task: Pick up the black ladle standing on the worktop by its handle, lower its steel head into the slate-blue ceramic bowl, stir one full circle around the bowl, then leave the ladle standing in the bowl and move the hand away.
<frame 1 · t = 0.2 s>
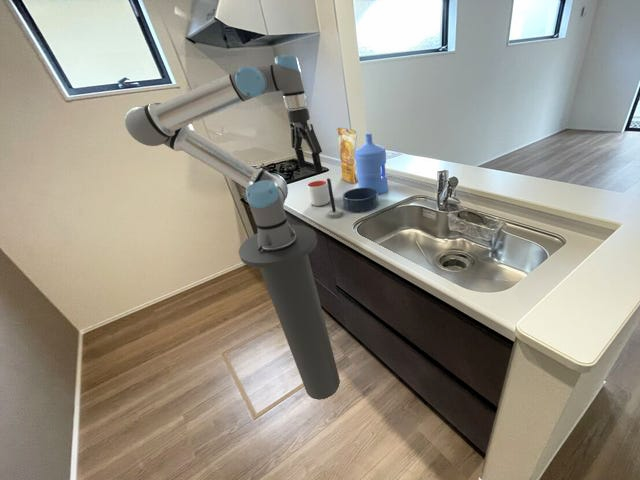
hand: (310, 169, 118), 24 cm above the countertop, tool pointing down, fingers open, 13 cm apart
cup: (321, 203, 153), on the countertop
ladle: (334, 215, 139), on the countertop
water jug: (373, 191, 160), on the countertop
bowl: (361, 205, 145), on the countertop
pancake mix bag: (350, 180, 180), on the countertop
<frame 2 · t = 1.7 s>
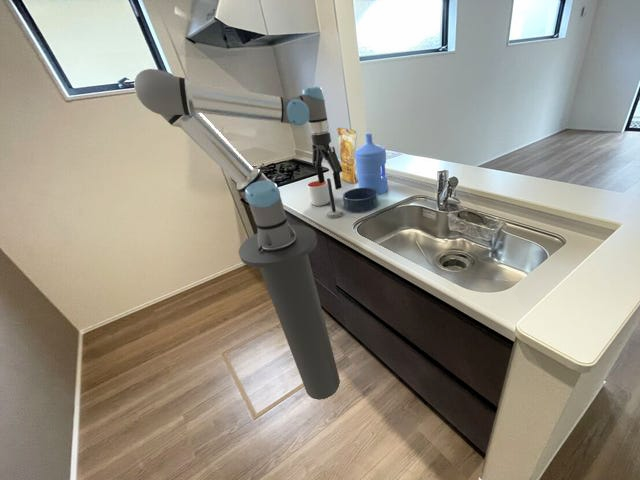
hand: (330, 185, 131), 14 cm above the countertop, tool pointing down, fingers open, 13 cm apart
nothing on the countertop moved.
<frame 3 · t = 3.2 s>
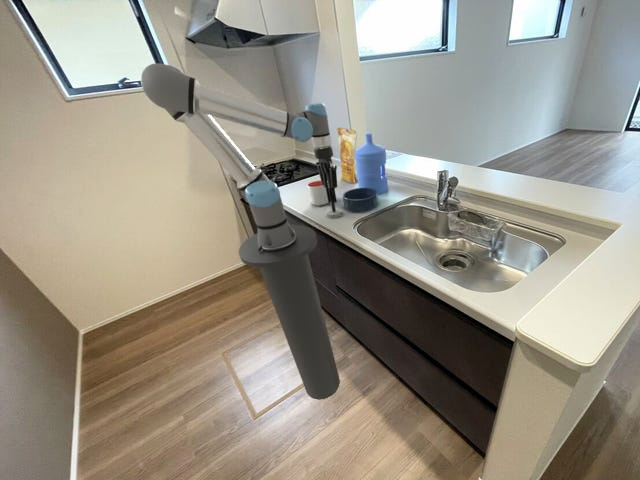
hand: (332, 201, 135), 6 cm above the countertop, tool pointing down, fingers closed on ladle, 2 cm apart
ladle: (334, 215, 139), on the countertop, touching gripper
everything else where it was.
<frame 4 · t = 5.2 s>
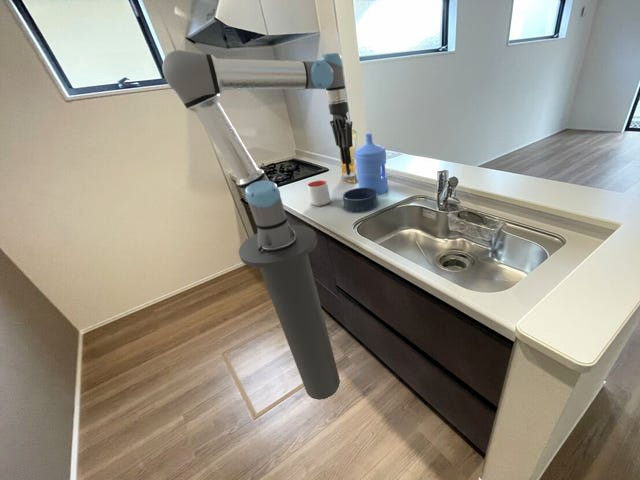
hand: (347, 163, 131), 21 cm above the countertop, tool pointing down, fingers closed on ladle, 2 cm apart
ladle: (349, 178, 135), point 15 cm above the countertop, touching gripper
everything else where it was.
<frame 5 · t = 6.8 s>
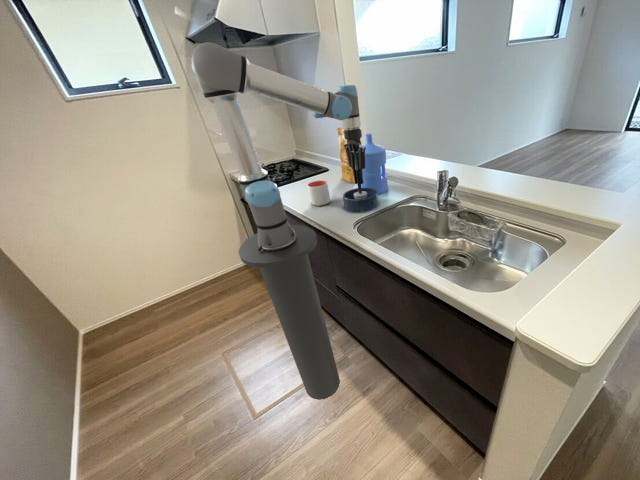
hand: (359, 183, 139), 11 cm above the countertop, tool pointing down, fingers closed on ladle, 2 cm apart
ladle: (360, 196, 143), point 4 cm above the countertop, touching gripper
everything else where it was.
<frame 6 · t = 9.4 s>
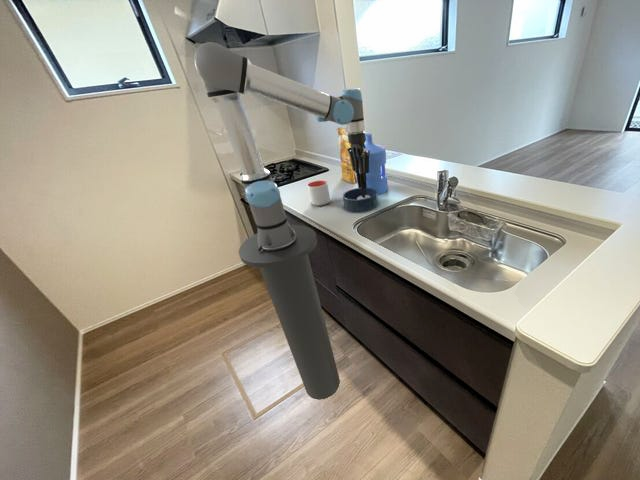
hand: (362, 187, 138), 10 cm above the countertop, tool pointing down, fingers closed on ladle, 2 cm apart
ladle: (364, 200, 141), point 3 cm above the countertop, touching gripper
everything else where it was.
when the fingers open (7 cm above the countertop, at t = 10.7 s): ladle stays where it is, resting on bowl.
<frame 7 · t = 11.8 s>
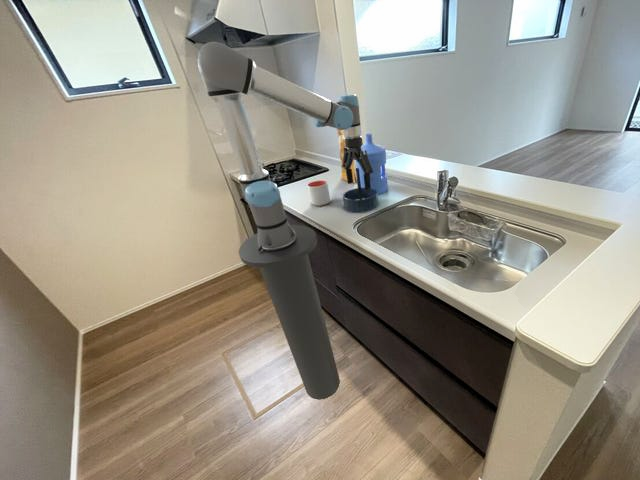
hand: (358, 185, 139), 10 cm above the countertop, tool pointing down, fingers open, 13 cm apart
ladle: (361, 203, 145), point 1 cm above the countertop, touching bowl
everything else where it was.
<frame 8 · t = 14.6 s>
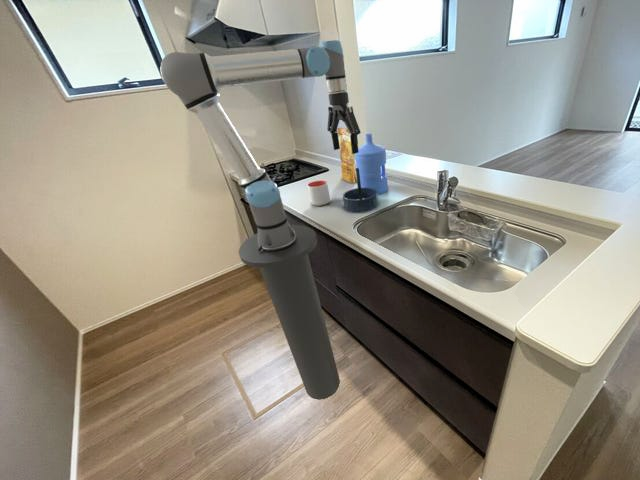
hand: (345, 151, 125), 27 cm above the countertop, tool pointing down, fingers open, 13 cm apart
nothing on the countertop moved.
at the end: ladle inside the target area in the bowl (0.1 cm from its centre), point 0.8 cm above the bowl's base; the gripper is holding nothing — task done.
